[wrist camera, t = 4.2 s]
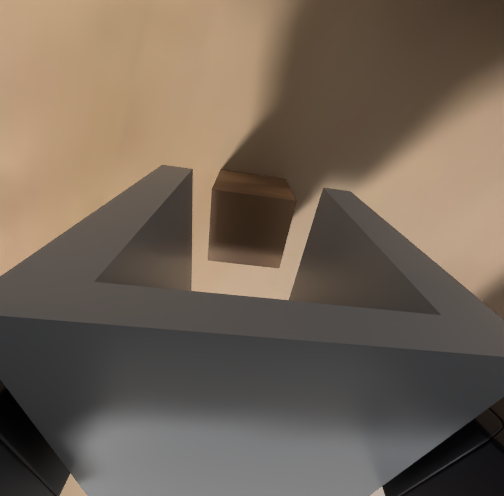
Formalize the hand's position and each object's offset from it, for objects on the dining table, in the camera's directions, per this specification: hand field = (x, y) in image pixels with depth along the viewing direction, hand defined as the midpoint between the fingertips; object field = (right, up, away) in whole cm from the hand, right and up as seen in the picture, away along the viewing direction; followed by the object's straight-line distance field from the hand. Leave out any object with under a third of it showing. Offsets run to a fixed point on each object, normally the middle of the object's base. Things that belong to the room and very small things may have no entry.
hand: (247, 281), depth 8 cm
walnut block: (0, +4, +7) cm, 8 cm away
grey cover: (0, +1, +1) cm, 2 cm away
